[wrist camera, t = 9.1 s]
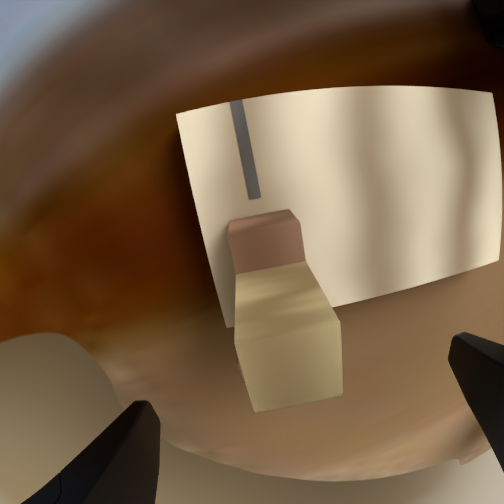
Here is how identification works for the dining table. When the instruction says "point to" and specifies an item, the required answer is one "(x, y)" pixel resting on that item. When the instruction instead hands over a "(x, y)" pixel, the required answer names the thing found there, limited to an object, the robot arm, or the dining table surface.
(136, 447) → the robot arm
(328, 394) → the stacked cube assembly
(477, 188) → the board
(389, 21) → the dining table surface
